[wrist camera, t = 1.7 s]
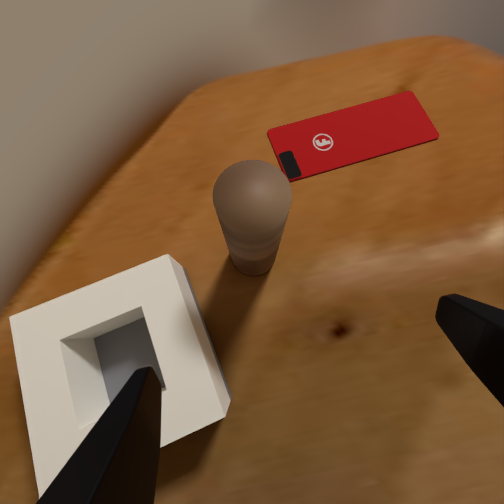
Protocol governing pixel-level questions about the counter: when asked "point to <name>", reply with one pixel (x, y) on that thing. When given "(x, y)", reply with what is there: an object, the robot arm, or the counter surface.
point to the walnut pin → (252, 213)
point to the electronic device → (351, 135)
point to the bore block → (115, 359)
